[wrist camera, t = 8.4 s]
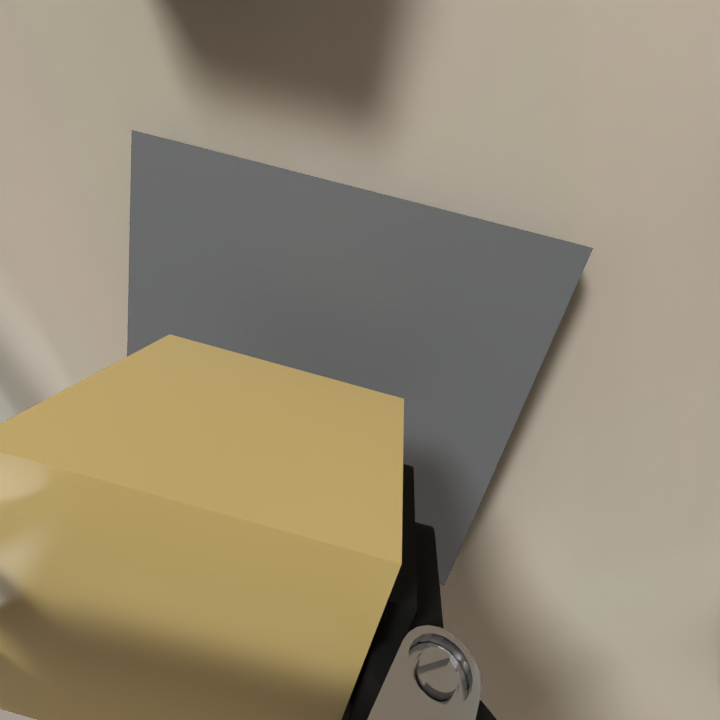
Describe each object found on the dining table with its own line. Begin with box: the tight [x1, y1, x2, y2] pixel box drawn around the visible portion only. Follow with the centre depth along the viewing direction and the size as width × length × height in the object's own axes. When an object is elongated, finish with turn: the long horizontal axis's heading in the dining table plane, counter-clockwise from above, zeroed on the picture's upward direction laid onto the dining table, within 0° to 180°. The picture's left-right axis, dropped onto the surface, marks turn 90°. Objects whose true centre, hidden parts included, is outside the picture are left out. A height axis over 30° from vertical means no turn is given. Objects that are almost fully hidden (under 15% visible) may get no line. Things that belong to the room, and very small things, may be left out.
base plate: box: [127, 130, 593, 585], centre depth 15 cm, size 14×14×2 cm
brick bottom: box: [0, 334, 404, 720], centre depth 9 cm, size 6×6×5 cm
